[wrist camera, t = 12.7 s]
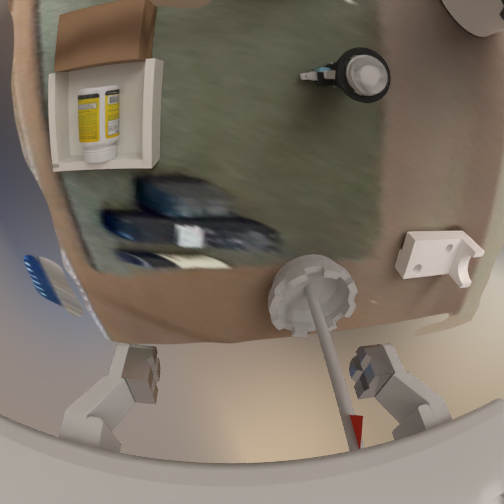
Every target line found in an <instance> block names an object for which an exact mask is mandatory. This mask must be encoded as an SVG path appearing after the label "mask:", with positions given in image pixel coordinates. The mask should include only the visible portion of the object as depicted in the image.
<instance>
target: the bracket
mask: <svg viewBox="0 0 504 504" xmlns="http://www.w3.org/2000/svg"><path fill="white" fill-rule="evenodd" d="M484 252H485V251H484V250H483V249H482V248H481V247H480V246H479V245H478V244H477V243H476V242H474V241H473V240H472V239H471V238H470V237H469V236H468V235H467V234H466V233H465V232H464V231H411V232H407V234H406V237H405V241H404V245H403V248H402V249H400V250H399V253H398V257H397V260H396V264H395V268H396V270H397V271H398V273H399V274H400V275H401V277H402V278H403V279H408V278H417V277H425V276H434V275H442V274H449V275H450V276H451V277H452V279H453V280H454V281H455V282H456V283H457V285H458V286H459V287H460V288H464V287H469V286H470V285H471V283H472V282H471V280H470V278H469V276H468V262H469V260H470V258H471V257H472V256H473V257H482V256H483V255H484Z"/></svg>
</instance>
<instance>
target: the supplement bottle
mask: <svg viewBox="0 0 504 504" xmlns="http://www.w3.org/2000/svg"><path fill="white" fill-rule="evenodd" d="M78 126H79V142H80V145H81V146H83V147H85V149H84V150H83V155H84V162H86V163H100V162H105V161H109V160H112V159H114V158H116V156H117V145H116V144H115V142H116V141H117V140H118V139H119V86H118V85H110V86H103V87H94V88H87V89H82V90H79V91H78Z"/></svg>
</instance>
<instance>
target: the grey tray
mask: <svg viewBox="0 0 504 504" xmlns="http://www.w3.org/2000/svg"><path fill="white" fill-rule="evenodd" d="M163 65H164V61H163V60H159V59H156V58H151V59H146V61H143V62H131V63H121V64H113V65H105V66H98V67H92V68H86V69H81V70H75V71H70V72H56V73H52V74H49V82H48V109H49V132H50V146H51V156H52V165H53V172H56V171H72V170H92V169H130V168H153V166H154V165H155V164H156V163H157V162H158V160H159V159H160V119H161V95H162V78H163ZM110 85H118V86H119V139H118V140H117V141H116V142H115V144H116V145H117V156H116V158H114V159H112V160H109V161H105V162H100V163H86V162H84V155H83V150H84V149H85V147H83V146H81V145H80V142H79V126H78V91H79V90H82V89H87V88H94V87H103V86H110Z"/></svg>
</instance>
